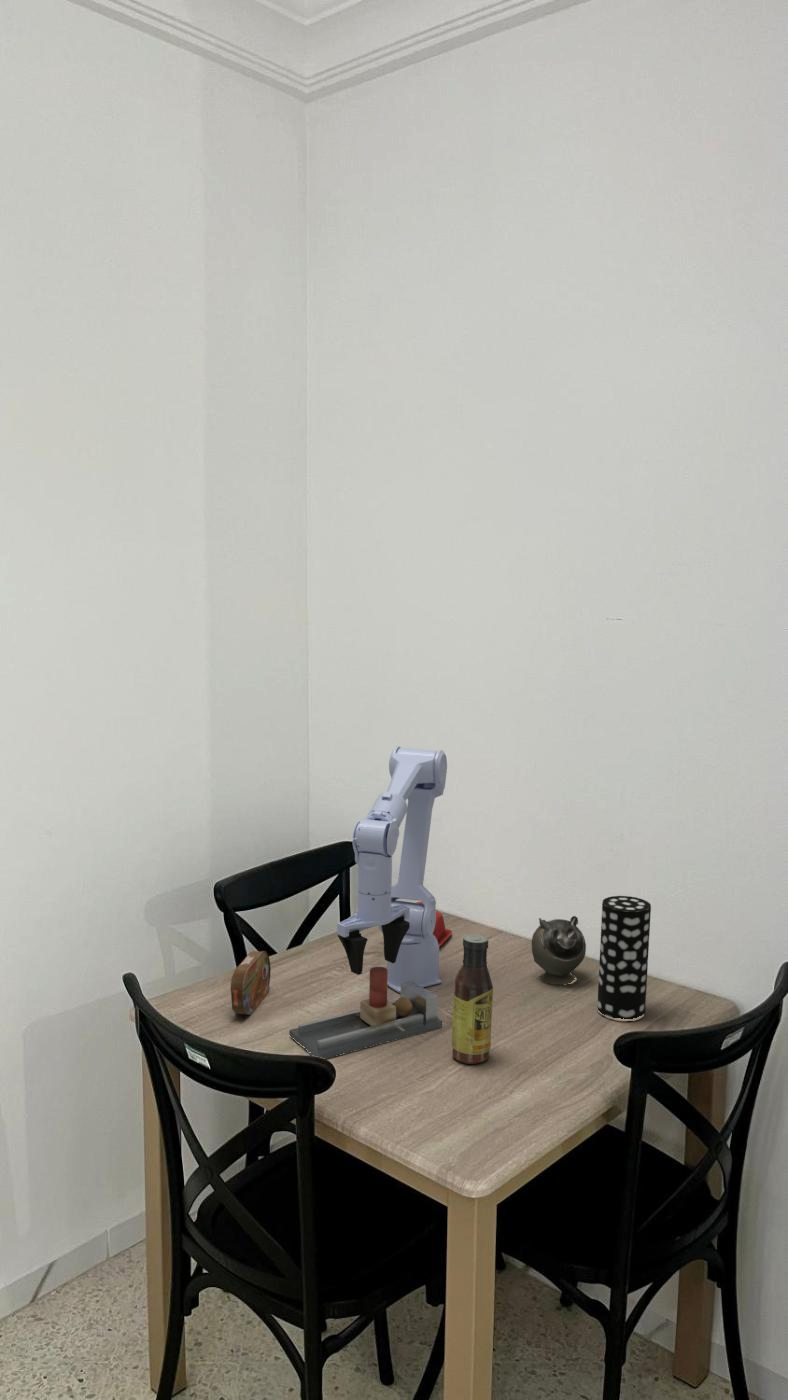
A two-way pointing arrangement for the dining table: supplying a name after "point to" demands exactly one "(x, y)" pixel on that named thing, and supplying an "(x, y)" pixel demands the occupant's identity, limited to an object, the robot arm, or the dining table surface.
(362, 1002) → the press slider
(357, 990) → the dining table surface
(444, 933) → the butter dish
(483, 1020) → the sauce bottle
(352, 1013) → the base
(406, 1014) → the nut
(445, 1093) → the dining table surface
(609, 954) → the white-spotted black cylinder
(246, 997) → the tin
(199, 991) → the dining table surface
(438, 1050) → the dining table surface
